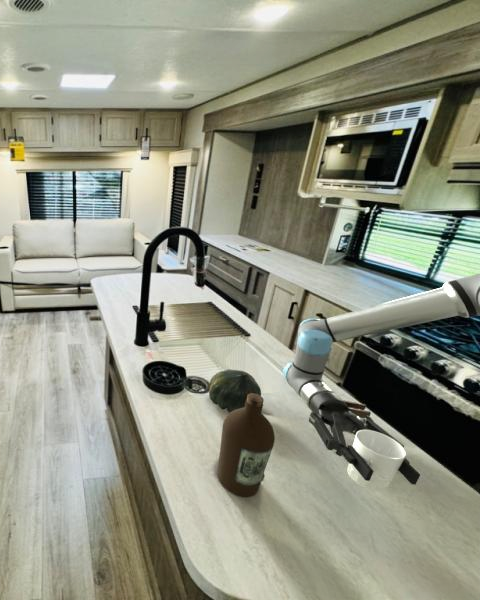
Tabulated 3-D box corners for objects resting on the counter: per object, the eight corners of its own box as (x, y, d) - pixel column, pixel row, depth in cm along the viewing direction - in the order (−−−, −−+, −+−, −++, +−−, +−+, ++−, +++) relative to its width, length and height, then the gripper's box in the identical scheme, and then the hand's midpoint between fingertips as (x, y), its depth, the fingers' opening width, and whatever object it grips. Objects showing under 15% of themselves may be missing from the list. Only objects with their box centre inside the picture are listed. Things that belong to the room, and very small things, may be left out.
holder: (357, 421, 94) (364, 403, 92) (364, 433, 90) (371, 414, 88) (318, 413, 98) (323, 395, 95) (322, 424, 94) (328, 405, 91)
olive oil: (206, 463, 82) (220, 384, 73) (245, 460, 82) (263, 381, 73) (227, 502, 72) (246, 416, 63) (271, 498, 73) (296, 412, 64)
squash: (210, 371, 111) (215, 358, 99) (256, 381, 106) (268, 369, 93) (204, 411, 106) (209, 402, 93) (253, 424, 101) (265, 417, 88)
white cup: (384, 472, 70) (399, 437, 67) (395, 501, 64) (412, 465, 60) (340, 457, 74) (352, 424, 71) (346, 484, 68) (360, 449, 64)
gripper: (285, 388, 83) (341, 459, 62) (370, 393, 81) (458, 468, 60) (280, 411, 86) (332, 486, 65) (361, 416, 84) (443, 495, 62)
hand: (392, 477), depth 62 cm, fingers closed on white cup, 8 cm apart
